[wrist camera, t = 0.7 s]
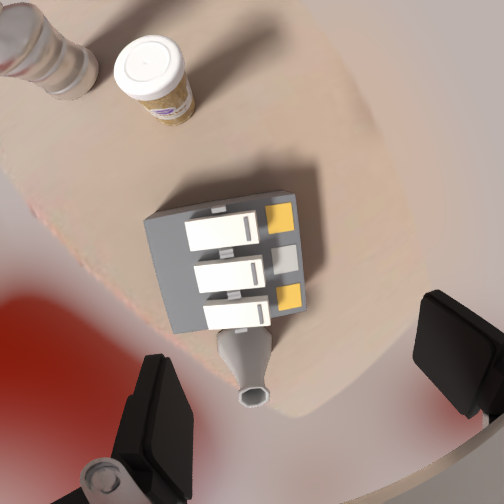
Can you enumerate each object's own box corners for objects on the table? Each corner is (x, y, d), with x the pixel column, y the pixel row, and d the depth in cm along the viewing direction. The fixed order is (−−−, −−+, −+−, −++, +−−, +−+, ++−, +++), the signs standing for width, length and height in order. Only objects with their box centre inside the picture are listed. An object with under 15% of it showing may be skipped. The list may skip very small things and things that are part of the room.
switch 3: (205, 300, 27) (202, 307, 26) (267, 295, 27) (267, 301, 25) (211, 323, 28) (208, 330, 27) (271, 318, 27) (270, 326, 26)
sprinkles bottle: (160, 132, 27) (119, 105, 14) (149, 95, 26) (106, 49, 13) (201, 117, 27) (190, 78, 14) (189, 80, 26) (172, 23, 13)
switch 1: (188, 219, 25) (184, 222, 24) (255, 209, 24) (254, 212, 23) (194, 247, 26) (190, 251, 25) (259, 239, 25) (258, 243, 24)
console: (154, 212, 29) (138, 223, 23) (284, 189, 30) (302, 194, 24) (178, 312, 33) (171, 343, 27) (296, 291, 34) (313, 317, 28)
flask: (263, 311, 34) (279, 361, 25) (278, 354, 36) (297, 407, 27) (207, 329, 34) (205, 383, 25) (227, 371, 36) (232, 426, 27)
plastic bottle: (82, 112, 25) (-42, 73, 6) (48, 92, 23) (-67, 54, 4) (114, 65, 24) (21, -21, 5) (78, 48, 22) (-16, -23, 3)
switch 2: (197, 261, 26) (193, 266, 25) (262, 254, 25) (261, 259, 24) (203, 287, 27) (199, 293, 26) (265, 281, 26) (265, 287, 25)
